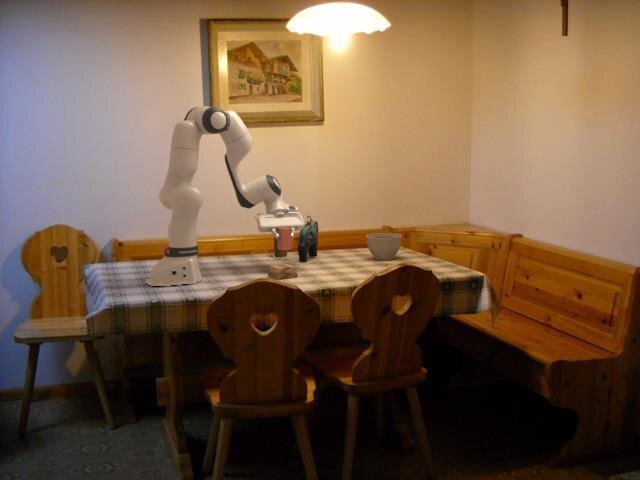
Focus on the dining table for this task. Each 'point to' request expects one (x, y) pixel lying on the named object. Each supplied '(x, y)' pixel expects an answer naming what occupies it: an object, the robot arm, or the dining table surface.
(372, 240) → the planter bowl
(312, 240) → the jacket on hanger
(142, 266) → the dining table surface
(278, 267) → the oak top slab
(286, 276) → the walnut base slab
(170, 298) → the dining table surface
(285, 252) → the condiment
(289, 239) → the brick-red pillar
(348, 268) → the dining table surface
